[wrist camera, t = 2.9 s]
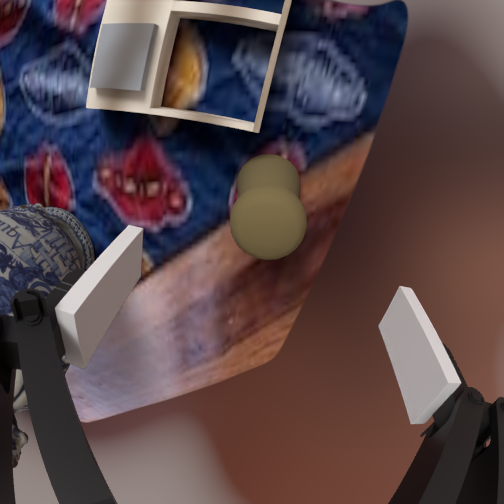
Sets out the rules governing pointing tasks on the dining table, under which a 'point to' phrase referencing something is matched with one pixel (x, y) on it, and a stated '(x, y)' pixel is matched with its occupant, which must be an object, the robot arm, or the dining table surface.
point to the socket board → (163, 54)
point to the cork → (268, 208)
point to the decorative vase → (37, 270)
